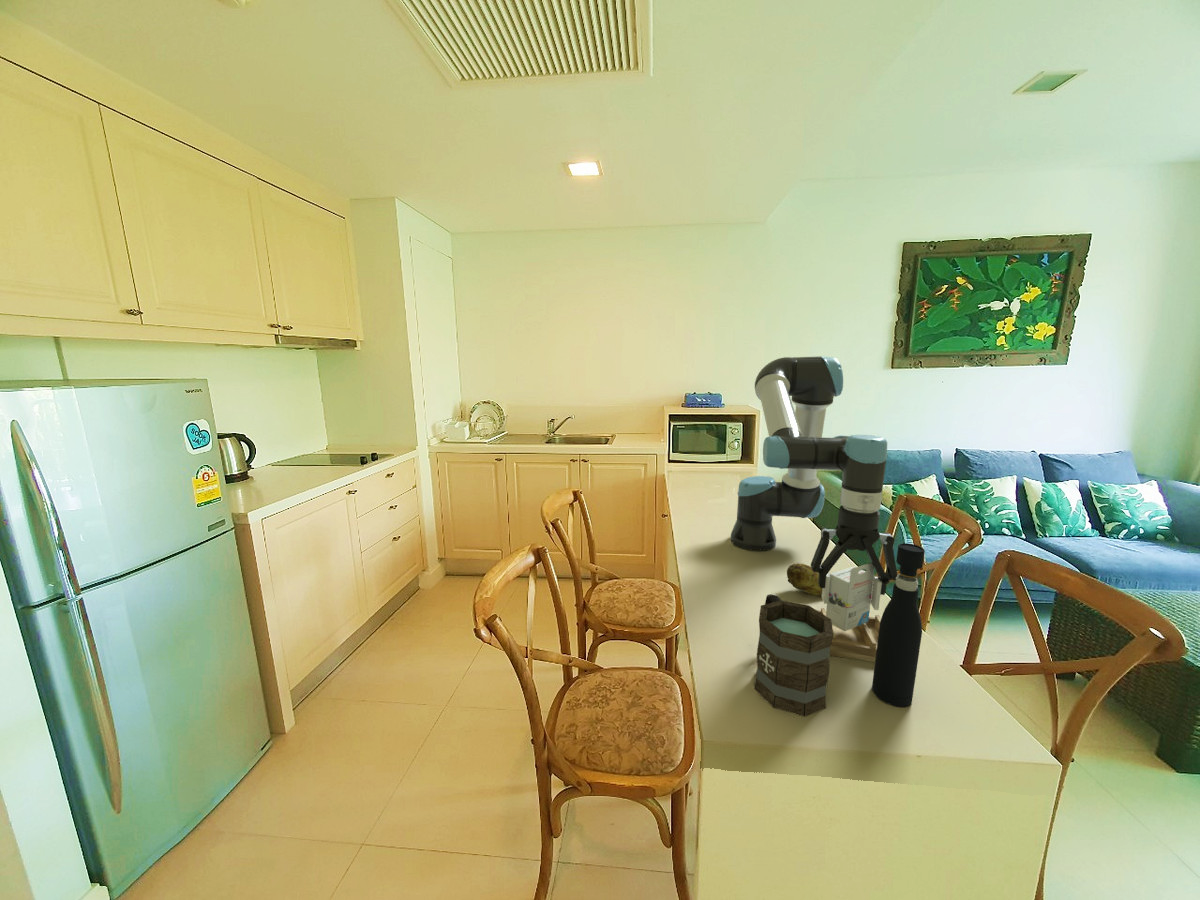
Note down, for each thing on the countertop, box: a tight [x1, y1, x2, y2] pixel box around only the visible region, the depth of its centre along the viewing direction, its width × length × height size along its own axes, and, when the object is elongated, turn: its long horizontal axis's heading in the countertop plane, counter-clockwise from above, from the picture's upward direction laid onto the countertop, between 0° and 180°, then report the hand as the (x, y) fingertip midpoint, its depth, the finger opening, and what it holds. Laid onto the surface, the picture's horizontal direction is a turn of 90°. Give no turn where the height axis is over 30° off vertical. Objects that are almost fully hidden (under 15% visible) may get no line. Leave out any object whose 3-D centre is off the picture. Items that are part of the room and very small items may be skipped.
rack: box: [816, 607, 882, 663], centre depth 99 cm, size 13×20×4 cm, turn 74°
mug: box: [754, 593, 833, 718], centre depth 86 cm, size 20×14×15 cm
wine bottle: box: [871, 542, 926, 708], centre depth 80 cm, size 6×6×30 cm
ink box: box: [825, 561, 875, 631], centre depth 97 cm, size 8×5×15 cm, turn 116°
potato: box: [786, 563, 822, 596], centre depth 119 cm, size 8×13×8 cm, turn 75°
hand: (849, 603), depth 97 cm, fingers closed on ink box, 9 cm apart
